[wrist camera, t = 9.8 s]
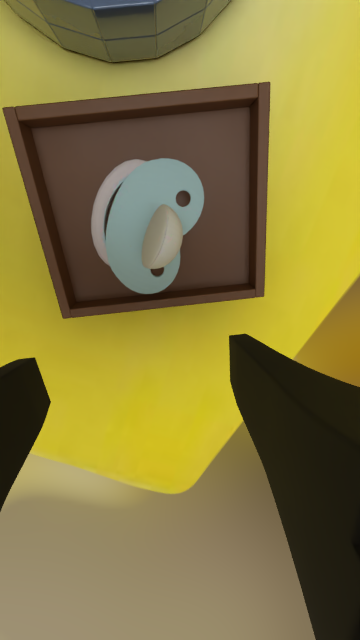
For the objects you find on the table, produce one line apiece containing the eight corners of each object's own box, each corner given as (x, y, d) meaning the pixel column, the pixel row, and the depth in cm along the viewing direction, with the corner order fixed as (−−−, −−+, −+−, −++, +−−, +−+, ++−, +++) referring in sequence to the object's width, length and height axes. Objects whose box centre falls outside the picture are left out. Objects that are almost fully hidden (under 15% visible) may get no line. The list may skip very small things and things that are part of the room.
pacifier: (81, 260, 18) (167, 292, 19) (38, 285, 12) (165, 329, 13) (113, 137, 15) (210, 182, 16) (78, 94, 9) (232, 167, 10)
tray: (72, 308, 19) (62, 319, 18) (21, 119, 15) (1, 107, 13) (254, 288, 20) (264, 296, 18) (257, 96, 15) (270, 81, 13)
